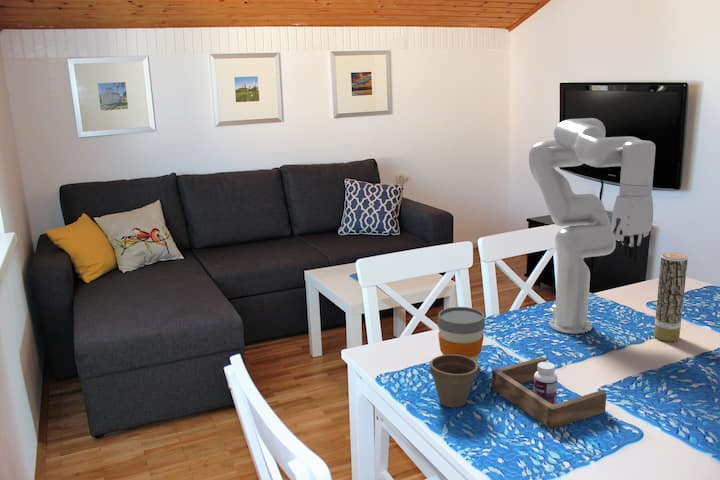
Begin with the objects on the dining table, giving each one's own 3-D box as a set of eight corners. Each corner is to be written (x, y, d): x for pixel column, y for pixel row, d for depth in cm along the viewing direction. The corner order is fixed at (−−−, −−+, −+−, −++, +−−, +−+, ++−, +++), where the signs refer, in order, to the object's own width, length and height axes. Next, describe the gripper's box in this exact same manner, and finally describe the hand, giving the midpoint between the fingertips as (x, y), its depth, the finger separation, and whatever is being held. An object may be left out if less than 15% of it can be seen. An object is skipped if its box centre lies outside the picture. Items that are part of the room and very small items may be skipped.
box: (491, 388, 166) (492, 370, 165) (541, 374, 173) (542, 356, 172) (551, 429, 147) (552, 409, 146) (605, 412, 154) (606, 392, 152)
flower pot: (481, 393, 164) (482, 356, 161) (473, 416, 154) (474, 377, 151) (435, 387, 168) (435, 351, 165) (425, 409, 157) (425, 370, 155)
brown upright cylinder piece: (681, 343, 189) (690, 259, 183) (656, 341, 190) (664, 259, 184) (675, 333, 196) (684, 252, 189) (651, 332, 197) (658, 252, 190)
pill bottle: (528, 399, 160) (529, 362, 158) (546, 395, 162) (548, 358, 160) (542, 409, 155) (544, 371, 153) (560, 405, 157) (563, 367, 155)
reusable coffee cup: (427, 368, 178) (427, 316, 174) (454, 352, 187) (455, 303, 183) (466, 382, 170) (467, 327, 166) (493, 365, 179) (494, 313, 175)
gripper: (645, 184, 172) (639, 252, 177) (601, 191, 166) (597, 260, 171) (669, 189, 165) (662, 259, 170) (625, 195, 159) (619, 268, 164)
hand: (629, 259), depth 170 cm, fingers closed
